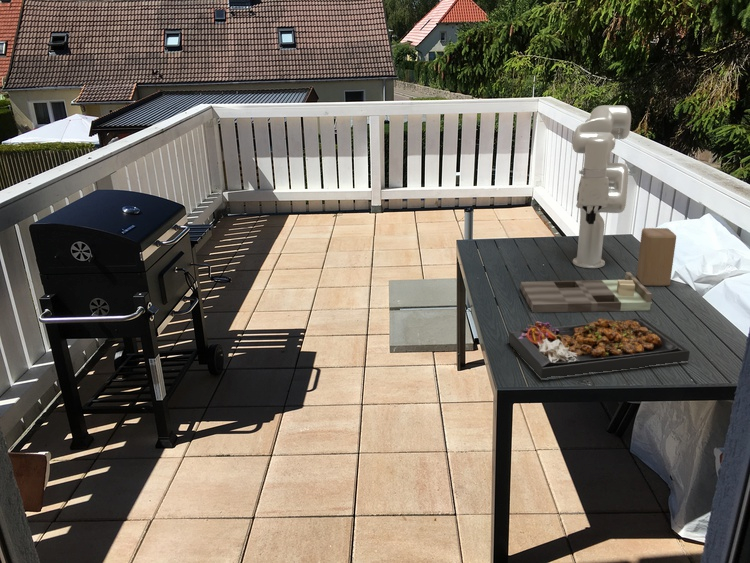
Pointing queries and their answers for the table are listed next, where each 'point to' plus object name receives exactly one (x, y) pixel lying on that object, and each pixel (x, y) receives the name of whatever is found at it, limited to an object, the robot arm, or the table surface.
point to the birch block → (625, 287)
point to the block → (656, 256)
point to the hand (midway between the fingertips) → (590, 222)
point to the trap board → (584, 296)
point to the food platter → (595, 347)
